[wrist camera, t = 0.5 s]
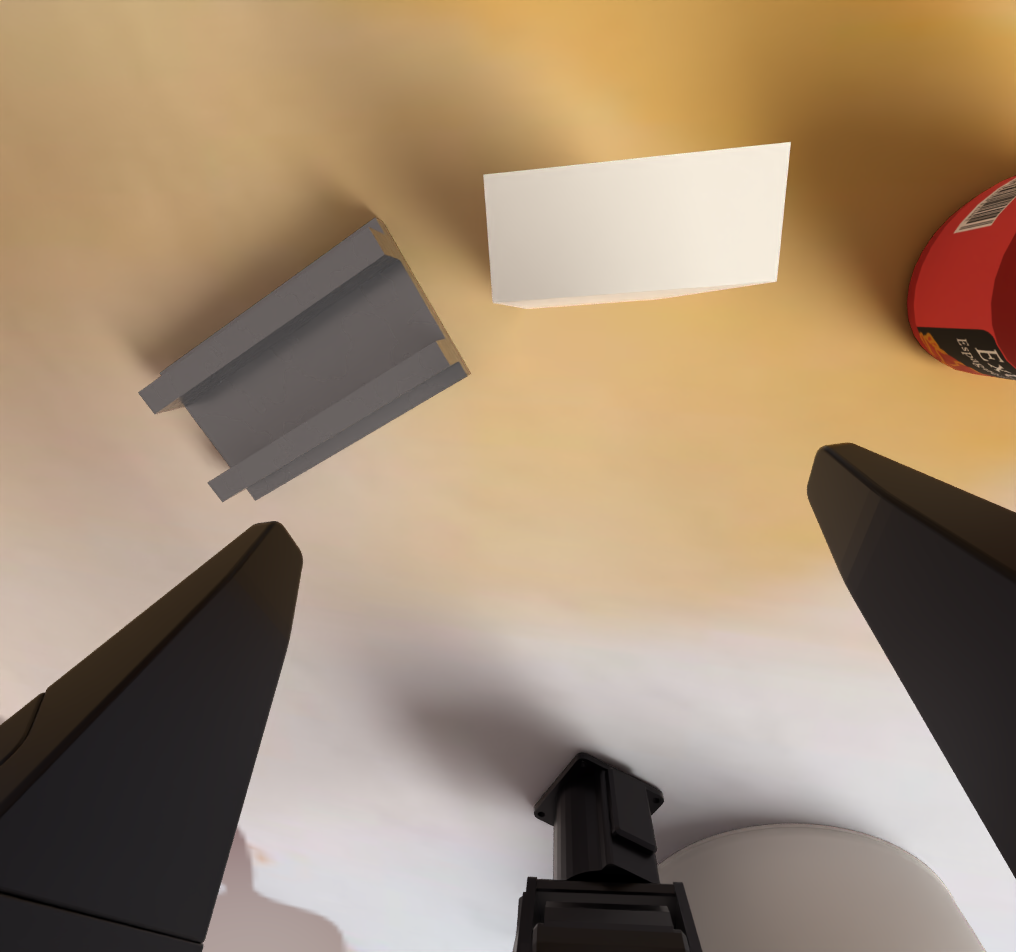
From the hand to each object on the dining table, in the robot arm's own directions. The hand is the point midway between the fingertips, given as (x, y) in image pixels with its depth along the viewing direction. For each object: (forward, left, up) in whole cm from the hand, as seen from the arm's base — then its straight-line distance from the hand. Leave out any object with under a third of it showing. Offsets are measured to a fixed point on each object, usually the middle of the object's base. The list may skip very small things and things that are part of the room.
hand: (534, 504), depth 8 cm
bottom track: (-6, +11, -17) cm, 21 cm away
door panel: (+5, +1, -17) cm, 17 cm away
